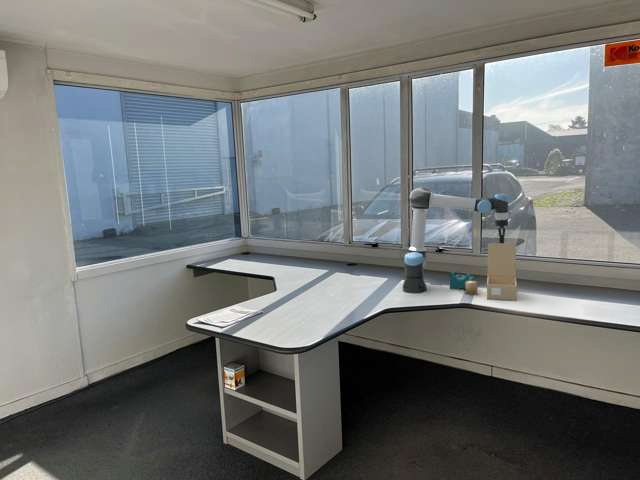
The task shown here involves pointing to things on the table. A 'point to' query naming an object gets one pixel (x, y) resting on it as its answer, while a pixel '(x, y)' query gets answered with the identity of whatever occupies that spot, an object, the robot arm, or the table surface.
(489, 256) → the lid
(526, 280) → the table surface
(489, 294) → the carton
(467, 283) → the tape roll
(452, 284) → the teal irregular block
